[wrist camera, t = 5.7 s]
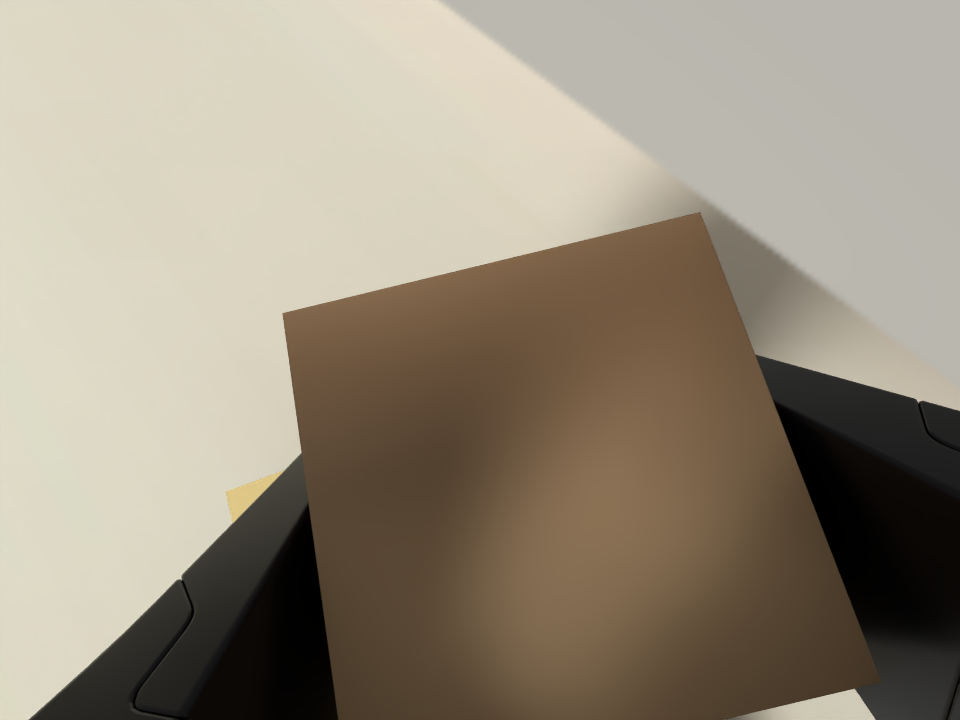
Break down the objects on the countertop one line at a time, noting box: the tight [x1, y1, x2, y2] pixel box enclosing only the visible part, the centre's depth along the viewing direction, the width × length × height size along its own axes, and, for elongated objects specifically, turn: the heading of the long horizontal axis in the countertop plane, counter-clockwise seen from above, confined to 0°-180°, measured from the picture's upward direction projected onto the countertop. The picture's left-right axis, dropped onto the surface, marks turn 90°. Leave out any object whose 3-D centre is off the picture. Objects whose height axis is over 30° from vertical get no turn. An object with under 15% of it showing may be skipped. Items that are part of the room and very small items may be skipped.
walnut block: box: [283, 212, 881, 720], centre depth 11 cm, size 5×5×10 cm
